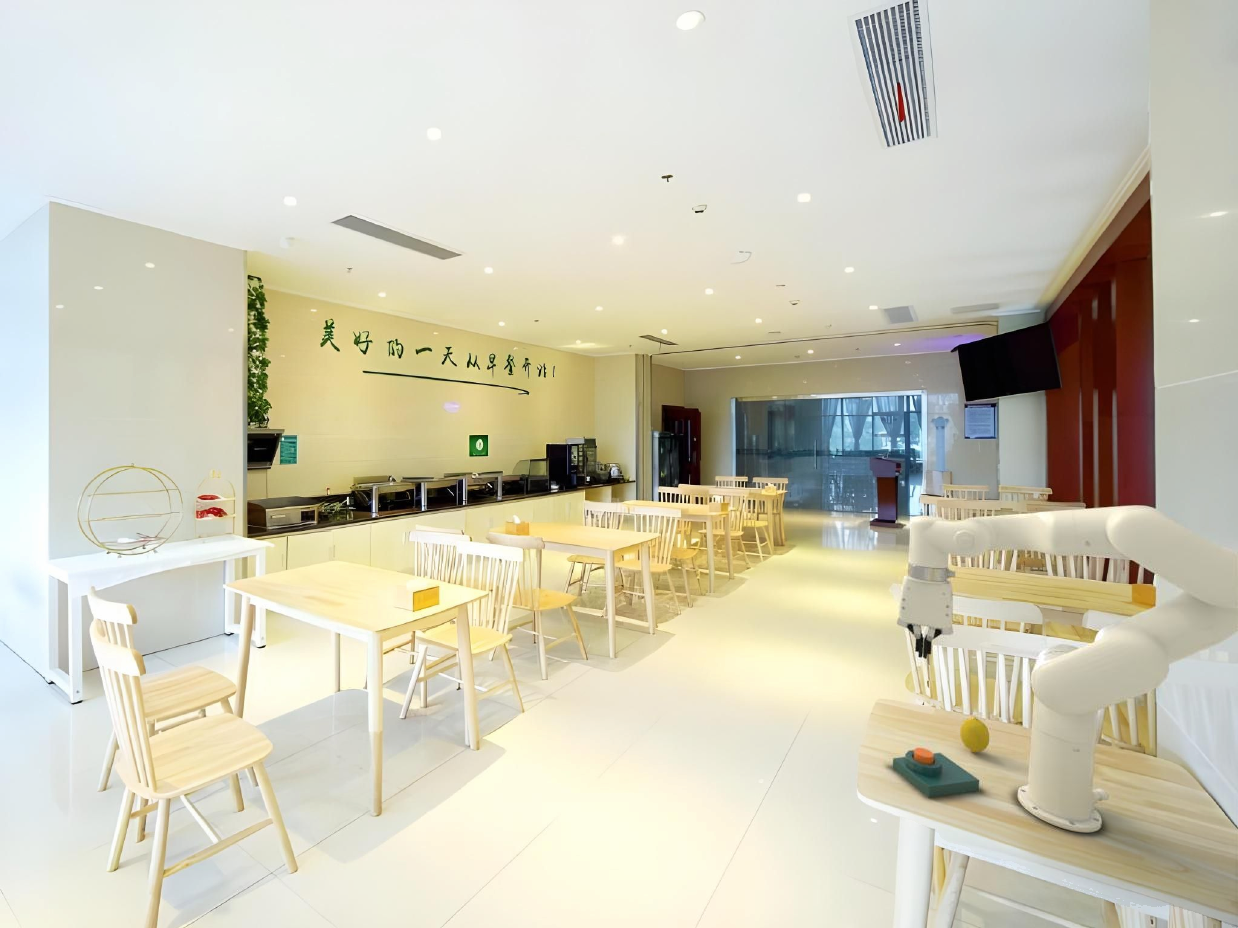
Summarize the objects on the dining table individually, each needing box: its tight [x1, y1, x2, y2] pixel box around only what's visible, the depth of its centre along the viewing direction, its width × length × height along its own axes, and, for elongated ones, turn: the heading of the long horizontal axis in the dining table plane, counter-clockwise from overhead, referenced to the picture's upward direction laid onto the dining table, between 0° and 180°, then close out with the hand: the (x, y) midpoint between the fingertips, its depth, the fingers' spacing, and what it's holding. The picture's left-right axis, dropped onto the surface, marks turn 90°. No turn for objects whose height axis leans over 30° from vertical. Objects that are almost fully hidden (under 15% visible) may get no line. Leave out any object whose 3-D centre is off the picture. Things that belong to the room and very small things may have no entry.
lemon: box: [959, 717, 990, 754], centre depth 126 cm, size 6×6×8 cm
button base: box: [892, 749, 980, 798], centre depth 115 cm, size 12×10×4 cm
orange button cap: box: [913, 747, 934, 765], centre depth 116 cm, size 4×4×2 cm
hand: (922, 655), depth 122 cm, fingers closed
